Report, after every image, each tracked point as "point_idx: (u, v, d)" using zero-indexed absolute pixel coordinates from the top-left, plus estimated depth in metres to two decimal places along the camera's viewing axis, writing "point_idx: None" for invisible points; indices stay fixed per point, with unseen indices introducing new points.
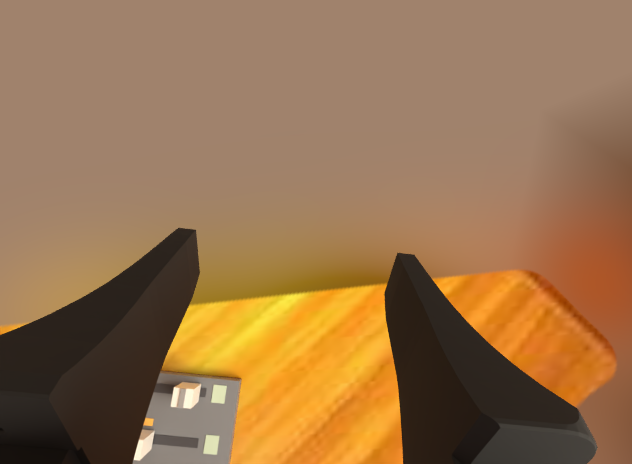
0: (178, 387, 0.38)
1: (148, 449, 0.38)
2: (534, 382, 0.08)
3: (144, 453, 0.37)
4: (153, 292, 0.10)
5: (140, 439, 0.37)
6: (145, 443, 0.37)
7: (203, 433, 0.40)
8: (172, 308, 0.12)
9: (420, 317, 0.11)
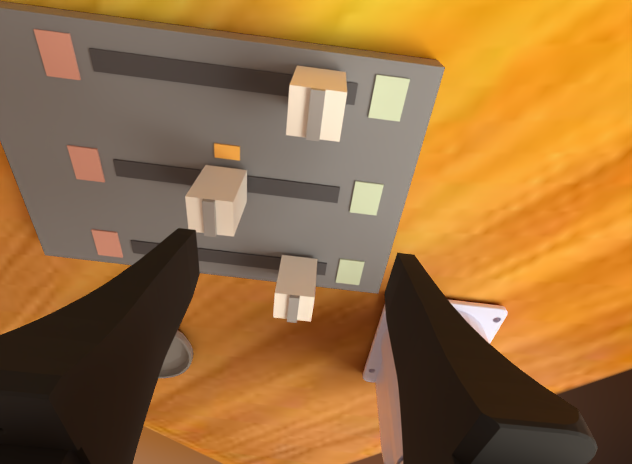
0: (301, 84, 0.13)
1: (243, 206, 0.18)
2: (534, 382, 0.08)
3: (238, 218, 0.17)
4: (153, 292, 0.10)
5: (225, 199, 0.16)
6: (237, 203, 0.17)
7: (349, 178, 0.19)
8: (172, 308, 0.12)
9: (420, 317, 0.11)
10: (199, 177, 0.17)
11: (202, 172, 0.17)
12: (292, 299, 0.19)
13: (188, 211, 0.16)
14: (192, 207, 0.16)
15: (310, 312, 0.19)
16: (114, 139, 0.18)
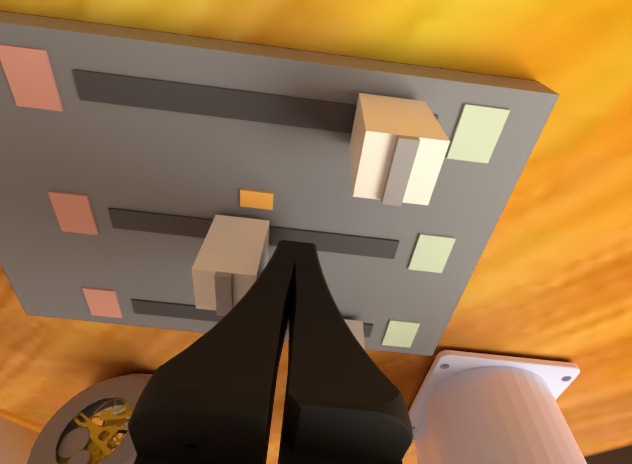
0: (380, 129, 0.09)
1: (264, 267, 0.14)
2: (372, 366, 0.08)
3: None
4: (284, 306, 0.10)
5: (246, 271, 0.12)
6: (260, 270, 0.13)
7: (412, 230, 0.14)
8: (285, 320, 0.12)
9: (295, 304, 0.10)
10: (209, 235, 0.13)
11: (212, 227, 0.13)
12: None
13: (195, 286, 0.12)
14: (200, 281, 0.12)
15: None
16: (109, 184, 0.14)
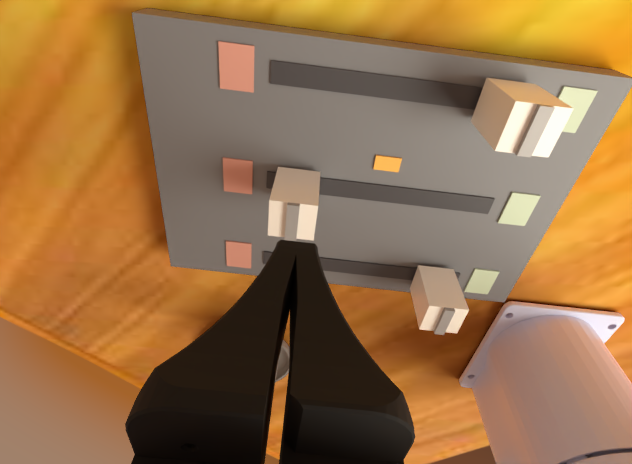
0: (523, 100, 0.13)
1: None
2: (374, 366, 0.08)
3: None
4: (283, 305, 0.10)
5: (309, 203, 0.15)
6: None
7: (506, 189, 0.18)
8: (284, 320, 0.12)
9: (296, 304, 0.10)
10: (276, 180, 0.17)
11: (277, 174, 0.17)
12: (447, 312, 0.18)
13: (270, 215, 0.16)
14: (274, 211, 0.16)
15: (459, 324, 0.19)
16: (272, 151, 0.18)
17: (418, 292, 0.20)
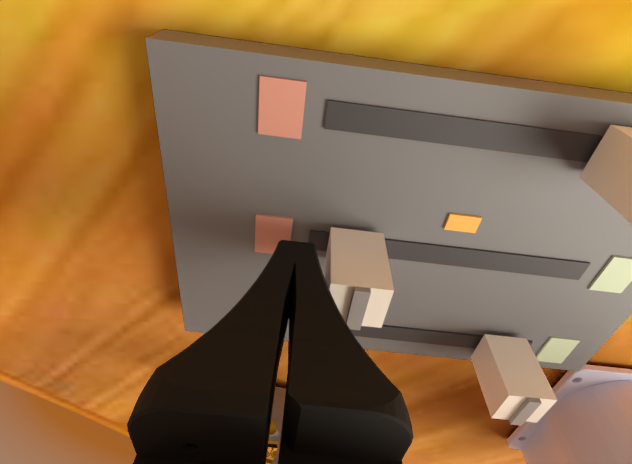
0: None
1: None
2: (372, 366, 0.08)
3: None
4: (284, 306, 0.10)
5: (382, 286, 0.12)
6: None
7: (606, 253, 0.15)
8: (285, 320, 0.12)
9: (295, 304, 0.10)
10: (333, 249, 0.13)
11: (333, 240, 0.13)
12: (532, 403, 0.15)
13: None
14: (336, 295, 0.12)
15: (542, 414, 0.16)
16: (319, 207, 0.14)
17: (487, 369, 0.17)
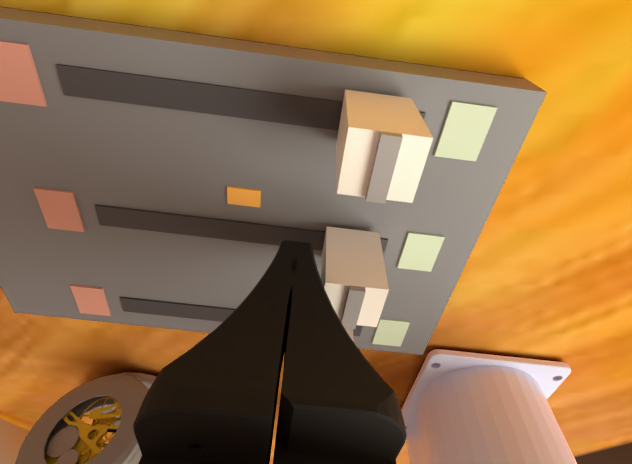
0: (363, 126, 0.09)
1: None
2: (366, 365, 0.08)
3: None
4: (287, 306, 0.10)
5: (377, 285, 0.12)
6: None
7: (401, 229, 0.14)
8: None
9: (291, 303, 0.10)
10: (328, 248, 0.13)
11: (328, 239, 0.13)
12: None
13: None
14: (331, 295, 0.12)
15: None
16: (95, 181, 0.14)
17: None
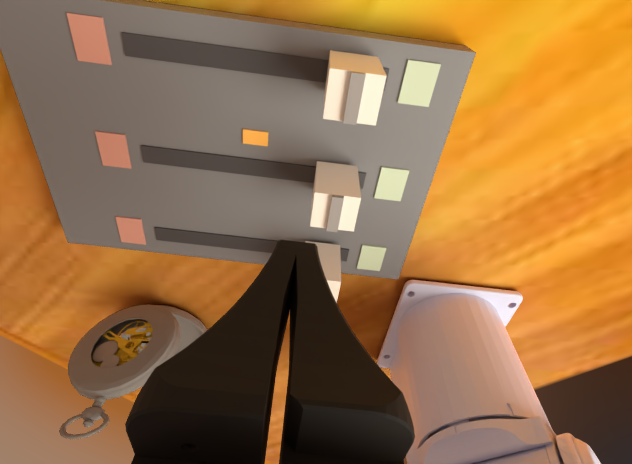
0: (340, 68, 0.13)
1: None
2: (374, 366, 0.08)
3: None
4: (283, 306, 0.10)
5: (352, 195, 0.16)
6: None
7: (375, 164, 0.19)
8: (284, 320, 0.12)
9: (296, 304, 0.10)
10: (318, 173, 0.17)
11: (318, 168, 0.18)
12: None
13: (314, 207, 0.16)
14: (319, 203, 0.16)
15: (336, 296, 0.20)
16: (142, 125, 0.18)
17: None
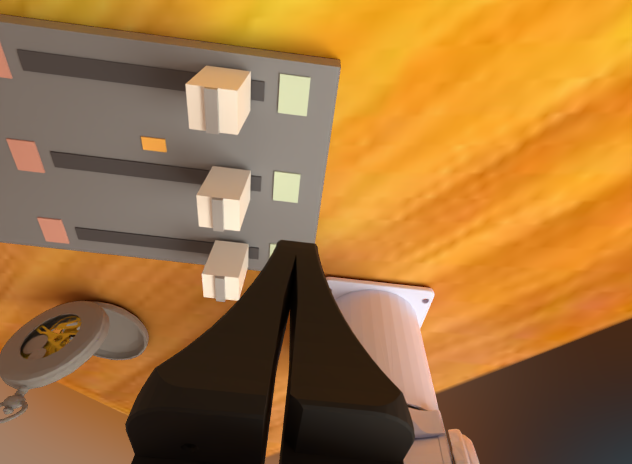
0: (197, 84, 0.15)
1: (247, 203, 0.20)
2: (374, 366, 0.08)
3: (243, 214, 0.19)
4: (283, 306, 0.10)
5: (232, 198, 0.18)
6: (243, 201, 0.19)
7: (269, 168, 0.20)
8: (284, 320, 0.12)
9: (296, 304, 0.10)
10: (208, 177, 0.19)
11: (210, 173, 0.19)
12: (217, 279, 0.20)
13: (199, 208, 0.18)
14: (202, 205, 0.18)
15: (237, 292, 0.21)
16: (49, 133, 0.19)
17: None
